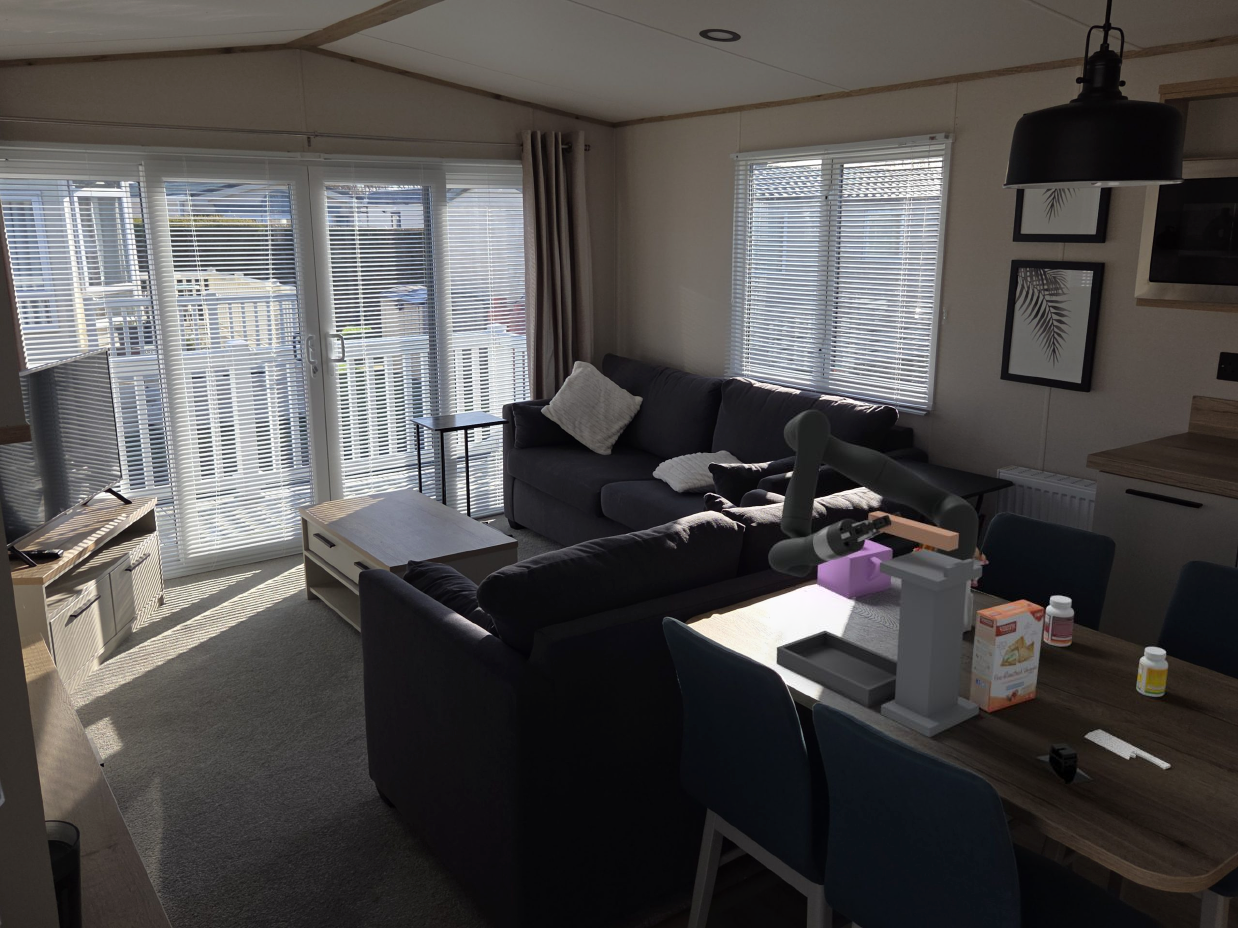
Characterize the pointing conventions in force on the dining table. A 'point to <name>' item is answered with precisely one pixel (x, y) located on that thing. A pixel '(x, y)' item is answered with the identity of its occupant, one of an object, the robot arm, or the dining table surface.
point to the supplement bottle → (1152, 672)
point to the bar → (919, 532)
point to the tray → (841, 667)
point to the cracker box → (1006, 655)
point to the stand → (930, 641)
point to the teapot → (857, 572)
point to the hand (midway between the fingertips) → (894, 518)
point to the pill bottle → (1059, 621)
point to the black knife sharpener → (1063, 764)
